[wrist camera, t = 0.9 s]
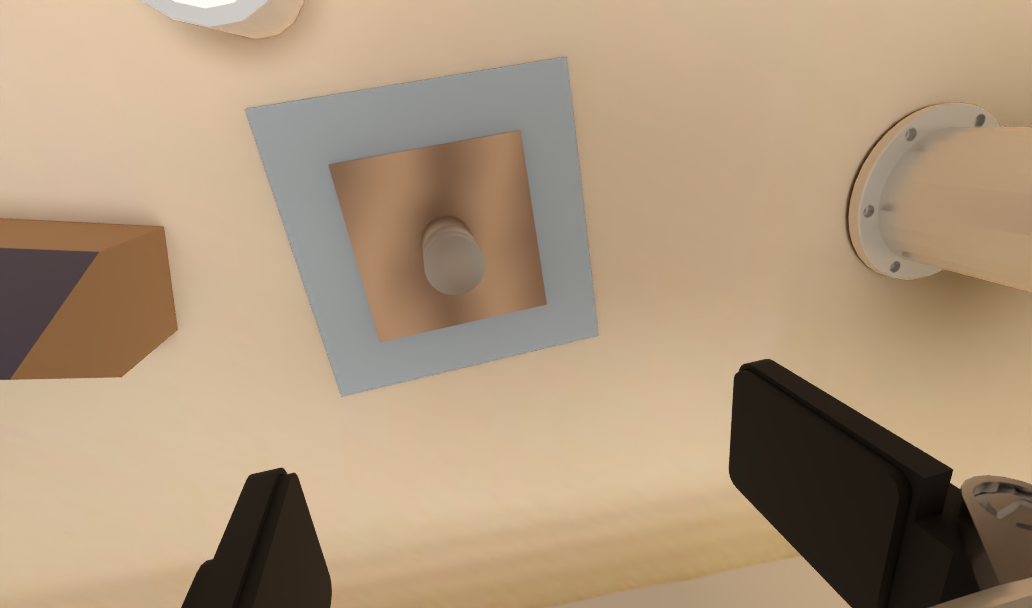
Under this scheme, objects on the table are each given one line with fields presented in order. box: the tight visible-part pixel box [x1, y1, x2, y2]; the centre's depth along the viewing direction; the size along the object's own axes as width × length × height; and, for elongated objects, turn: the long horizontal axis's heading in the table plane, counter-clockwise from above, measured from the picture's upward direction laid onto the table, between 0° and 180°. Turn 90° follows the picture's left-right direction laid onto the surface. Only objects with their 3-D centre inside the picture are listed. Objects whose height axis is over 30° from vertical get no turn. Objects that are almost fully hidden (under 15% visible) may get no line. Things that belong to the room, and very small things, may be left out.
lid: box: [328, 130, 547, 342], centre depth 28 cm, size 11×11×7 cm
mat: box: [245, 57, 598, 397], centre depth 31 cm, size 18×18×1 cm
